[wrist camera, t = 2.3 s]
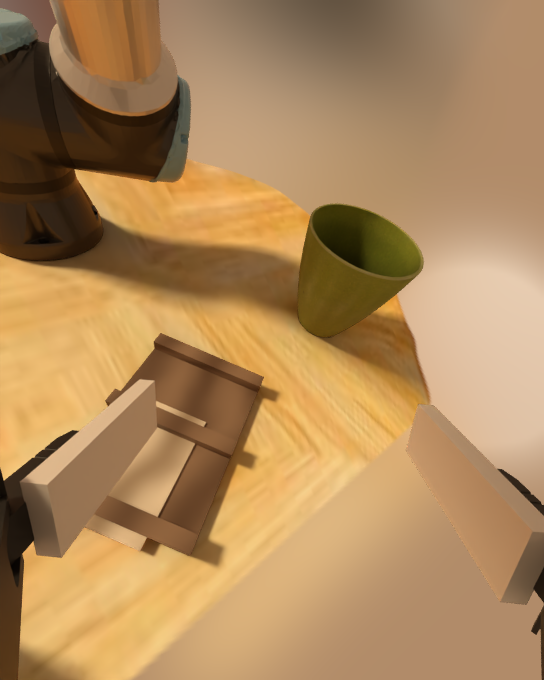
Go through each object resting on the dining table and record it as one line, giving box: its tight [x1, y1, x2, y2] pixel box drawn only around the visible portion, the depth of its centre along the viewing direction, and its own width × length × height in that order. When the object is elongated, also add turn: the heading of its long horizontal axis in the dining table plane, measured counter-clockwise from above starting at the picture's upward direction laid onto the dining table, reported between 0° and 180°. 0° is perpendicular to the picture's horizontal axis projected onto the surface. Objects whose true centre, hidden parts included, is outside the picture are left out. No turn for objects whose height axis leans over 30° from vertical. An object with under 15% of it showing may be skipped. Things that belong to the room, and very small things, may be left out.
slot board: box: [85, 333, 264, 556], centre depth 29 cm, size 14×20×2 cm
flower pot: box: [298, 204, 424, 337], centre depth 40 cm, size 15×15×16 cm
